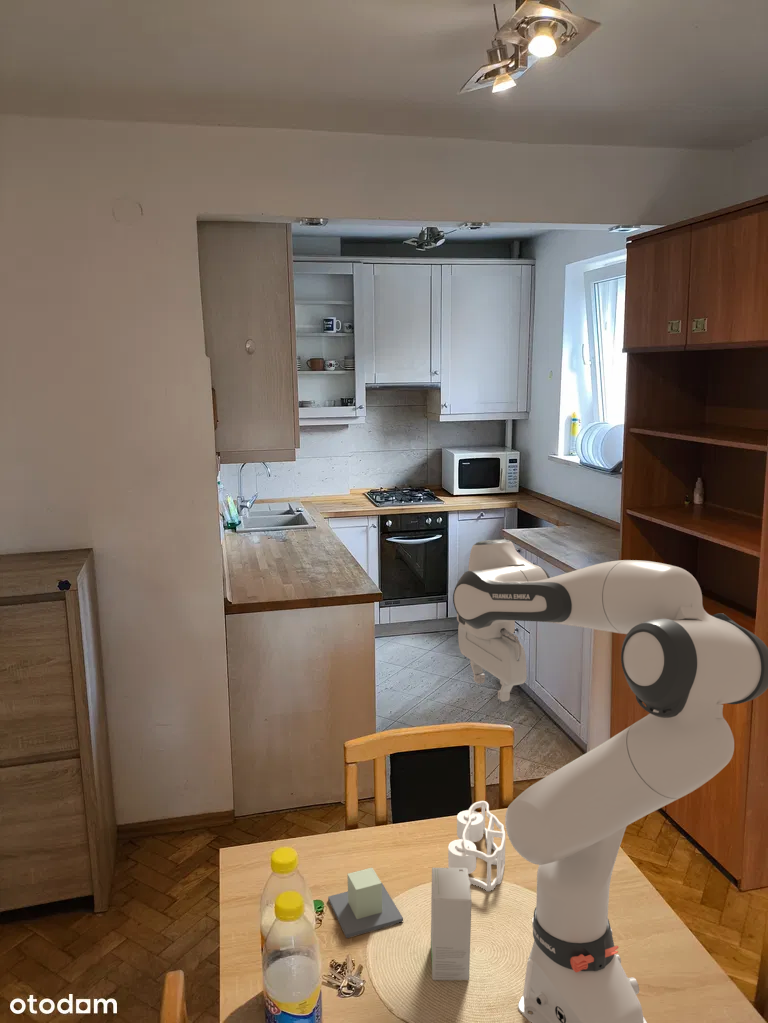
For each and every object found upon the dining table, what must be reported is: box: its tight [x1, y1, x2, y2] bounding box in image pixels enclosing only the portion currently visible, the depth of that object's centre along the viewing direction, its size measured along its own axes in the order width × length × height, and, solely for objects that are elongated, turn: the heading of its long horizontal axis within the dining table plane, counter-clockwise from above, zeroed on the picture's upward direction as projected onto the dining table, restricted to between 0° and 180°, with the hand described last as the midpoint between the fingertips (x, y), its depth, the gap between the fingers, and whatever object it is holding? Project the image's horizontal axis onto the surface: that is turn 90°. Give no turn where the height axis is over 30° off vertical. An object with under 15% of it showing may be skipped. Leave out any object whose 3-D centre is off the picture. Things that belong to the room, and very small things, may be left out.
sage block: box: [347, 867, 383, 919], centre depth 143 cm, size 5×5×6 cm
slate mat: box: [327, 881, 404, 939], centre depth 143 cm, size 11×11×1 cm
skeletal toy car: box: [447, 800, 506, 892], centre depth 158 cm, size 20×11×7 cm, turn 166°
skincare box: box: [430, 867, 473, 981], centre depth 129 cm, size 8×7×16 cm
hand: (491, 690), depth 148 cm, fingers open, 8 cm apart
